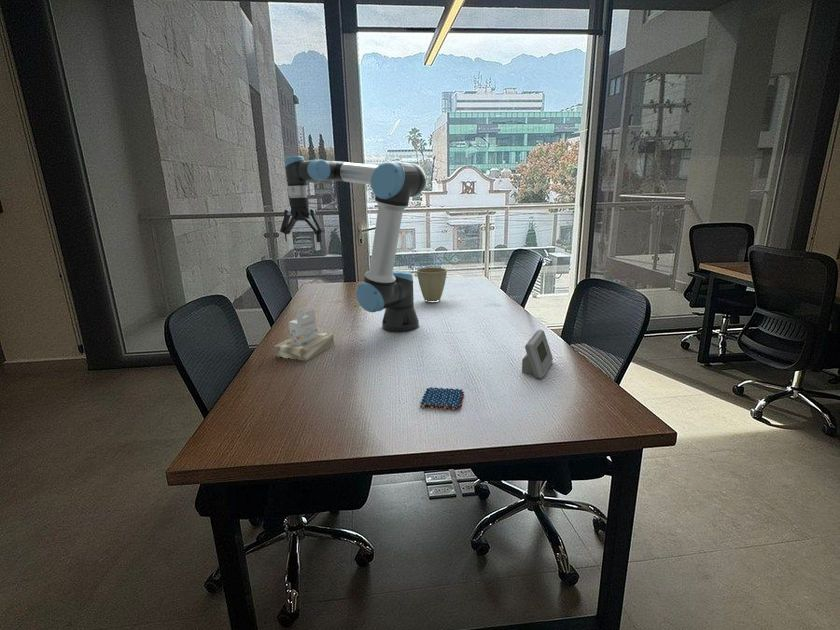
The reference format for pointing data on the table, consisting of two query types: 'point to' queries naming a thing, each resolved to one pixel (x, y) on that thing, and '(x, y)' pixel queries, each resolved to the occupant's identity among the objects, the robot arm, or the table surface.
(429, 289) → the plant pot
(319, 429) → the table surface
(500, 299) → the table surface
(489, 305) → the table surface
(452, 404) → the woven mat
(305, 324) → the ink cartridge box
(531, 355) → the digital clock
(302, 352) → the beige flat rectangular frame
